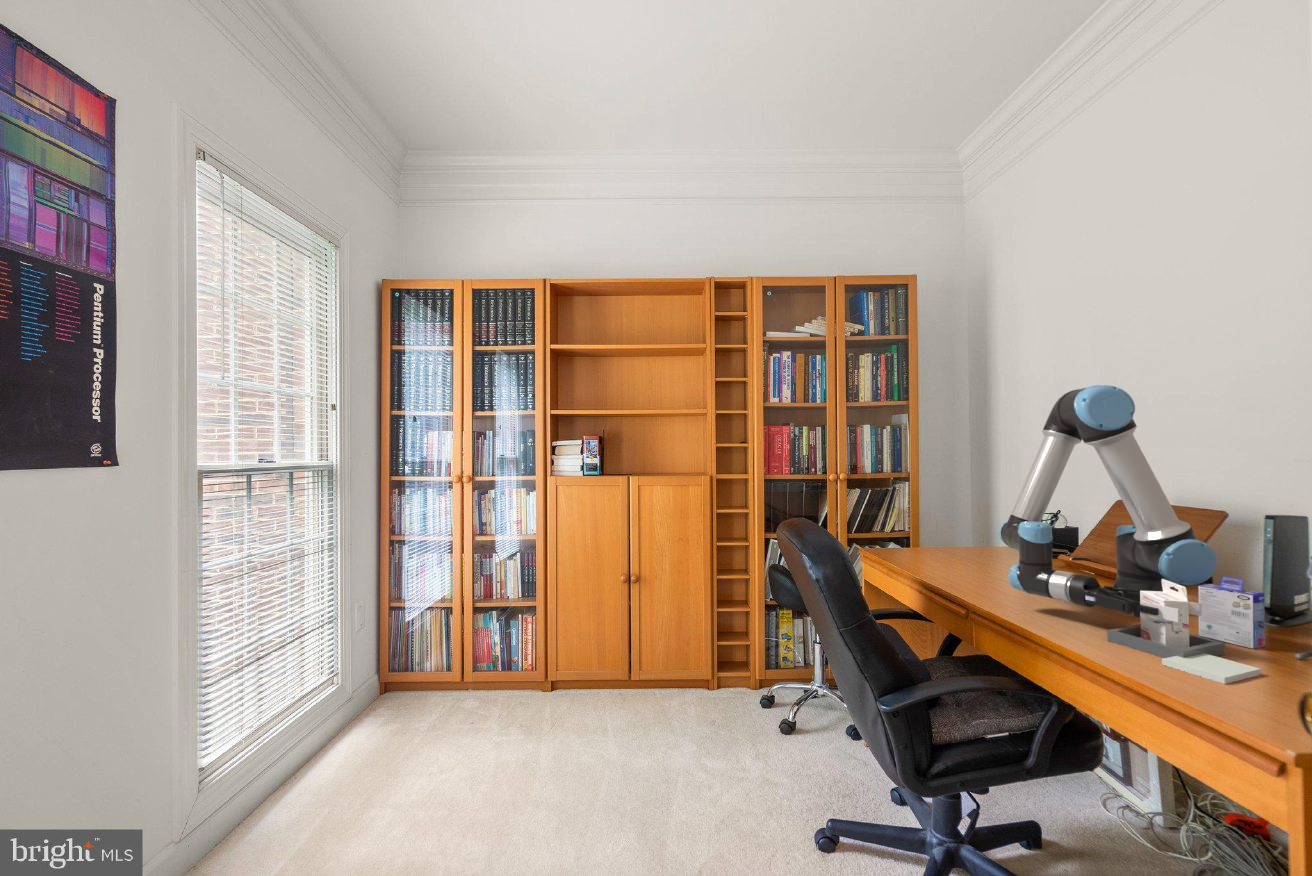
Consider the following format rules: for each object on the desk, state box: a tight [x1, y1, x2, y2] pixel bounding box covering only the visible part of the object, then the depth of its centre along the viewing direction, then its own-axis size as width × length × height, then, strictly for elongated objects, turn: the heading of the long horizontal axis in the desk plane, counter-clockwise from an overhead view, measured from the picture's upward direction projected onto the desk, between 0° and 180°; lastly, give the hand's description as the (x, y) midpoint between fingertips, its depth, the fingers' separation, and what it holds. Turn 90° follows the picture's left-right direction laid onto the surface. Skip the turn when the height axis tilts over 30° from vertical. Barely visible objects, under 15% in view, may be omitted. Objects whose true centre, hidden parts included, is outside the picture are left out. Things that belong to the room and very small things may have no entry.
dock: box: [1106, 623, 1226, 659], centre depth 125 cm, size 14×14×2 cm
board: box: [1161, 653, 1262, 685], centre depth 113 cm, size 12×10×1 cm
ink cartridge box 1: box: [1140, 579, 1190, 649], centre depth 125 cm, size 9×5×15 cm, turn 168°
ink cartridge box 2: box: [1197, 576, 1266, 649], centre depth 129 cm, size 10×6×14 cm, turn 23°
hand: (1189, 612), depth 121 cm, fingers closed on ink cartridge box 1, 9 cm apart
